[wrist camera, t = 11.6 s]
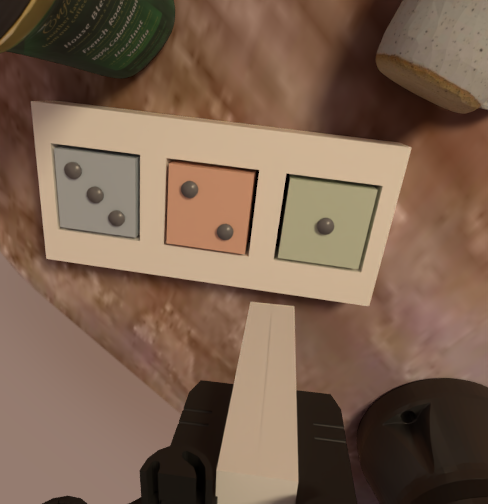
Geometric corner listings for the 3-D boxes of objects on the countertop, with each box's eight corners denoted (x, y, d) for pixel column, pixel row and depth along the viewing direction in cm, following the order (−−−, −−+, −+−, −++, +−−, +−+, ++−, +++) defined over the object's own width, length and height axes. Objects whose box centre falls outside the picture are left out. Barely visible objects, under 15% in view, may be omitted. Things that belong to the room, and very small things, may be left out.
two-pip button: (248, 240, 32) (244, 255, 29) (177, 230, 32) (165, 244, 29) (257, 167, 29) (253, 175, 26) (180, 157, 30) (167, 164, 27)
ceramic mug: (356, 68, 26) (383, 59, 19) (429, -67, 23) (494, -137, 16) (486, 138, 27) (558, 154, 20) (574, 17, 24) (694, -14, 17)
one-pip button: (352, 253, 31) (358, 270, 28) (278, 243, 32) (277, 259, 29) (369, 181, 29) (378, 190, 26) (290, 170, 29) (290, 179, 26)
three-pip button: (148, 225, 32) (134, 238, 29) (79, 215, 33) (58, 228, 30) (149, 152, 30) (133, 159, 27) (75, 143, 30) (51, 148, 27)
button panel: (362, 288, 32) (368, 306, 30) (66, 245, 34) (46, 258, 31) (399, 142, 28) (411, 147, 25) (55, 100, 29) (30, 101, 27)
